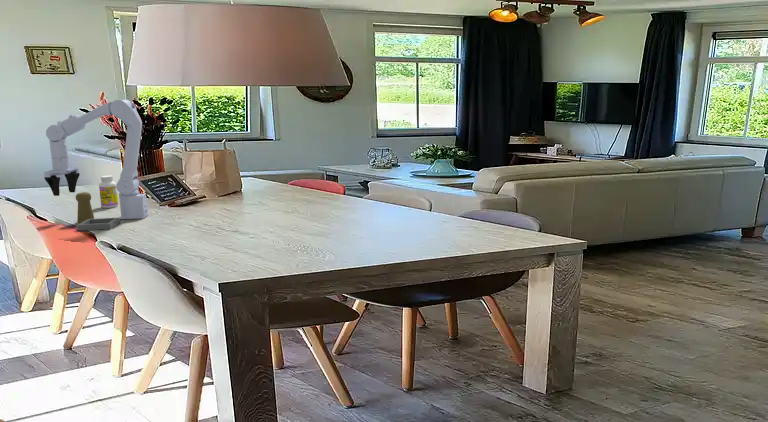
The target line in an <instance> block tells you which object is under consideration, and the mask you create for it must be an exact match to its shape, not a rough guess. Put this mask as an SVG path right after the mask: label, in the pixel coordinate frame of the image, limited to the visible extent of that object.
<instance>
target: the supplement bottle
mask: <svg viewBox="0 0 768 422" xmlns="http://www.w3.org/2000/svg"><path fill="white" fill-rule="evenodd" d="M113 179H114V176H113V175H102V176H100V180H101V182H100V183H99V184H98V188H99V197H100V199H99V200H100V207H101V208H103V209H111V208H117V207H118V206H119V200H118V199H119V196H118V190H117V182H115V181H114V180H113Z"/></svg>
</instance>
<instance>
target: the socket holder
mask: <svg viewBox="0 0 768 422" xmlns="http://www.w3.org/2000/svg"><path fill="white" fill-rule="evenodd" d="M120 223H121V221H120V219H119V217H101V218H100V217H99V218H98V217H97V218H94V219H87V220H85V221H84V222H82V223H80V224H79V223H77V231H78V232H79V231H81V232H82V231H99V230H98V229H104V230H112V229H113V228H115V227H116V226H117V225H118V224H120ZM111 228H112V229H111Z"/></svg>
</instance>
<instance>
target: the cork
mask: <svg viewBox="0 0 768 422" xmlns="http://www.w3.org/2000/svg"><path fill="white" fill-rule="evenodd" d="M75 200H76V202H77V224H80V223H82V222H84V221H85V220H87V219H95V216H94V212H93V207H92V204H91V200H92V195H91V193H90V192H83V191H82V192H79V193H77V194H76V195H75Z"/></svg>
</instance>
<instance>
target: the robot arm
mask: <svg viewBox="0 0 768 422" xmlns="http://www.w3.org/2000/svg"><path fill="white" fill-rule="evenodd" d="M104 116H114V117H116V118H117V119H119V120H121V122H123V124H125V126H126V127H127V129H126V138H125V144H124V145H125V146H124V156H123V165H122V169H121V172H120V176H119V179H118V181H117V182H116V187H117V192H118V199H119V200H118V201H119V208H120V216H119V217H118V218H119V220H135V219H136V220H137V219H138V220H139V219H144V218H145V219H146V217H147V216H149V208H148V199H147V195H146V194H145V193H140V191H139V190H138V189H139V187H140V180H139V172H138V164H139V163H138V162H139V155H140V146H141V138H142V130H143V121H142V119H141V117H140V115H139V113H138V111H137V107H136V105H135V104H134V103H132V101H130V100H129V99H125V98H123V99H114V100H113V101H110V102H106V103H103V104H101V105H99V106H98V107H95V108H94V109H92V110H90V111H88V112H86V113H83V114H82V115H79V114H70V115H69V116H68V118H66V119H64V120H62V121H61V120H58V121H57V123H56V124H51V125H50V126H48V127H47V129H46V131H45V135H46V137H47V139H49V149H50V157H51V165H52V166H51V167H52V169H51V170H47V171H44V172H43V176H44V178H43V179H44V180H45V182H46V183H47V184H48V186H49V188H50V190H51V192H52V195H53V196H55V197H60V192H61V191H60V181H61V177H59V176H61V175H62V176H63V175H64V177H65V179H66V183H67V187H68V192H69V193H76V188H77V183H78V179H79V177H80V176H81V175H80V170H79V166H72V167H71V166H70V159H69V151H68V144H67V143H68V142H67V138H68V137H70V136H72V135H74V134H76V133H78V132H81V131H82V130H84V129H85V128H86V125H87V124H88V123H90V122H92V121H95V120H97V119H99V118H101V117H104Z"/></svg>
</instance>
